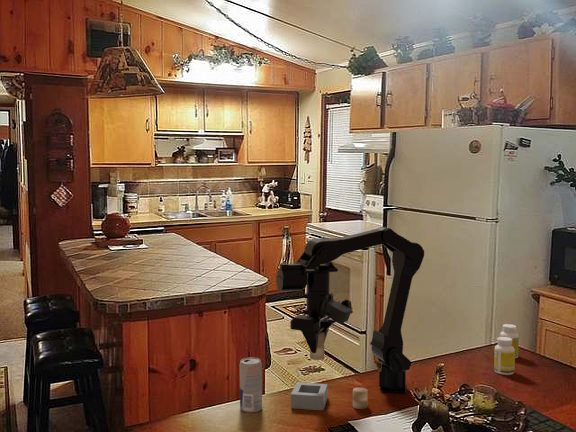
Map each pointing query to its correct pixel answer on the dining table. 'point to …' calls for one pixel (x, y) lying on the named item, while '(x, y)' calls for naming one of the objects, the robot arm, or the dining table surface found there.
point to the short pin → (360, 398)
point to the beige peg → (319, 348)
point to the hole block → (309, 396)
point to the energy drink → (250, 385)
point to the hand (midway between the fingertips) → (317, 350)
